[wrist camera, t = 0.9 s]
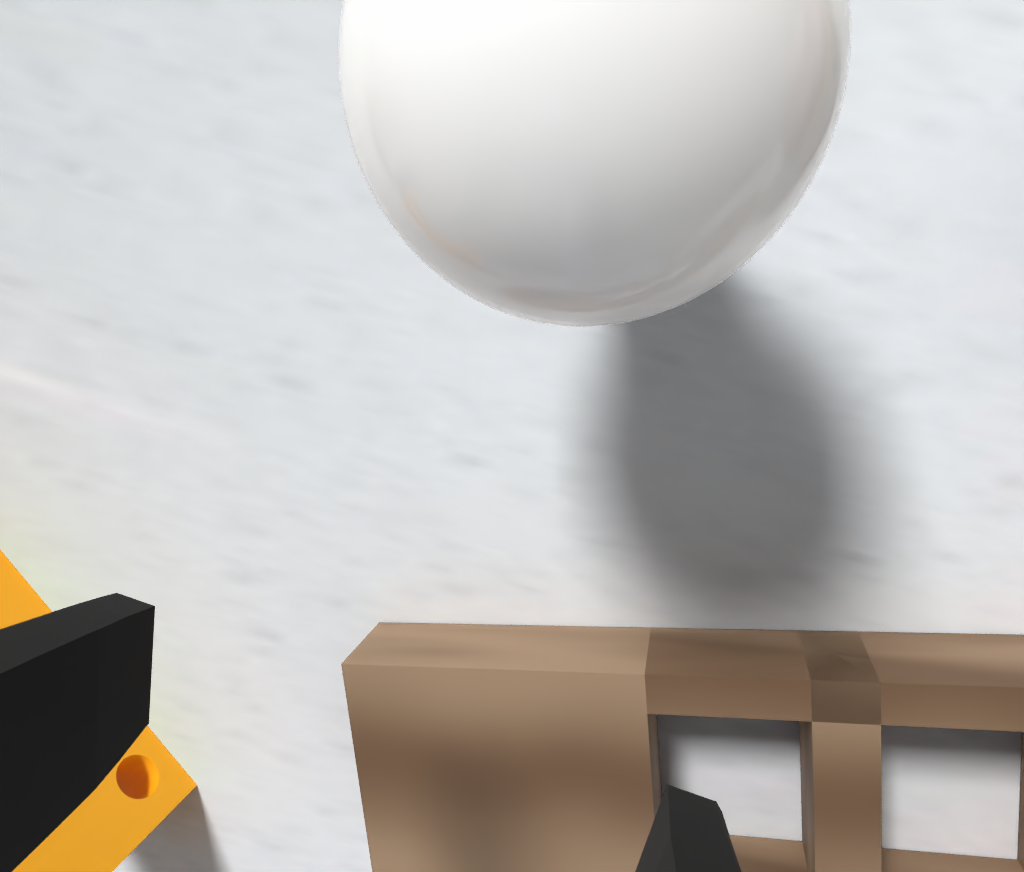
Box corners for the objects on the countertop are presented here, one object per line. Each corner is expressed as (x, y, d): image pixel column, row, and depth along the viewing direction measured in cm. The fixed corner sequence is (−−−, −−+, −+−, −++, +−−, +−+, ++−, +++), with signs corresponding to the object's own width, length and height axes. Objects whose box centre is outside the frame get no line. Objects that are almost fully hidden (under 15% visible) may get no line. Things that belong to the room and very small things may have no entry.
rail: (1407, 932, 17) (1519, 1036, 14) (408, 836, 23) (376, 898, 20) (1451, 642, 15) (1583, 707, 13) (379, 622, 21) (341, 664, 19)
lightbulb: (672, -50, 16) (625, -650, 6) (837, 191, 16) (1084, 39, 6) (451, 144, 18) (115, -36, 8) (600, 357, 18) (472, 465, 8)
